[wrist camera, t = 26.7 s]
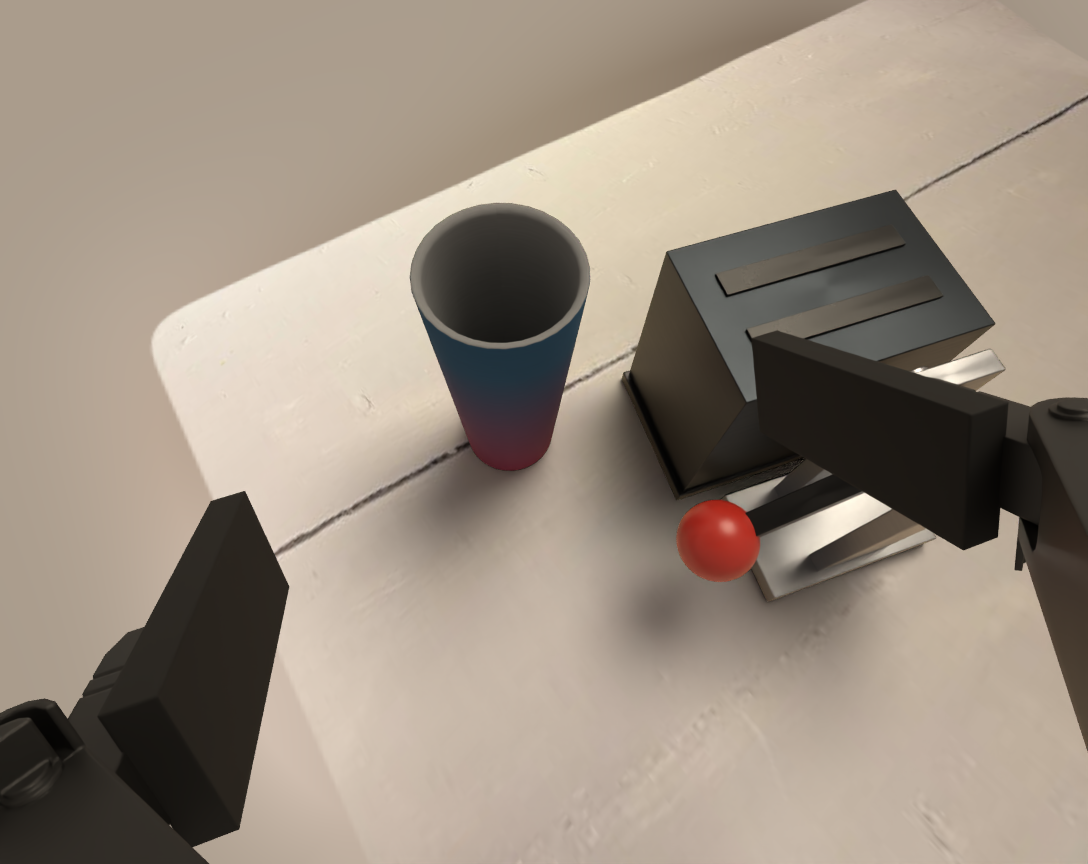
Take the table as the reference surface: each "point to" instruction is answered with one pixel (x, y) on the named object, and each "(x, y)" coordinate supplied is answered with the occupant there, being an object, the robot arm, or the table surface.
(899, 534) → the bracket
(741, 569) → the lever
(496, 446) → the cup
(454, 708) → the table surface
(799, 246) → the toaster
